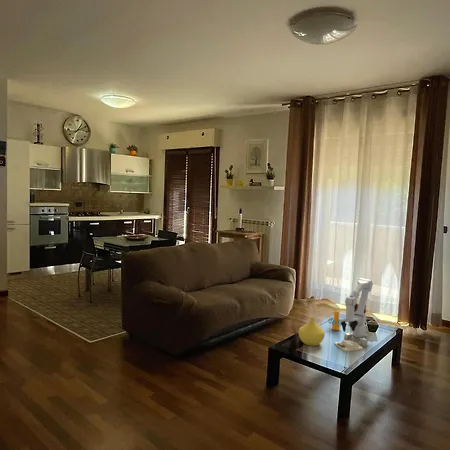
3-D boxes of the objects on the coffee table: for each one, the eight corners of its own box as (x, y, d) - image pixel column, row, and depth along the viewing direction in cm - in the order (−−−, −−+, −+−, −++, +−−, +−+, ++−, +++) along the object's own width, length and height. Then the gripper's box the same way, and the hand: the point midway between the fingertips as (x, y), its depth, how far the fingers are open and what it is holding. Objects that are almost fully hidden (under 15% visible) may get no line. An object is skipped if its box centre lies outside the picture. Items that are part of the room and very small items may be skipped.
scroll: (362, 322, 330) (364, 300, 328) (370, 329, 315) (372, 305, 313) (346, 322, 329) (347, 299, 327) (352, 328, 314) (354, 304, 312)
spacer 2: (363, 344, 282) (364, 337, 281) (367, 346, 278) (367, 339, 277) (358, 344, 280) (359, 338, 280) (362, 346, 277) (362, 340, 276)
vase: (305, 336, 292) (306, 311, 291) (328, 343, 281) (329, 317, 279) (293, 343, 278) (294, 317, 276) (316, 350, 266) (318, 323, 265)
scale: (352, 342, 284) (352, 339, 284) (363, 349, 272) (363, 346, 271) (334, 343, 280) (334, 340, 280) (344, 351, 267) (344, 347, 267)
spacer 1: (348, 339, 291) (349, 332, 290) (351, 341, 287) (352, 334, 286) (344, 339, 290) (344, 333, 289) (347, 341, 286) (347, 335, 285)
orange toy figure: (341, 327, 316) (343, 309, 315) (344, 332, 306) (345, 313, 304) (326, 326, 317) (327, 308, 316) (328, 330, 307) (330, 312, 305)
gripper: (355, 311, 292) (353, 328, 293) (338, 311, 288) (337, 329, 289) (360, 314, 286) (359, 331, 287) (343, 314, 281) (342, 333, 283)
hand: (348, 331), depth 288 cm, fingers open, 7 cm apart
